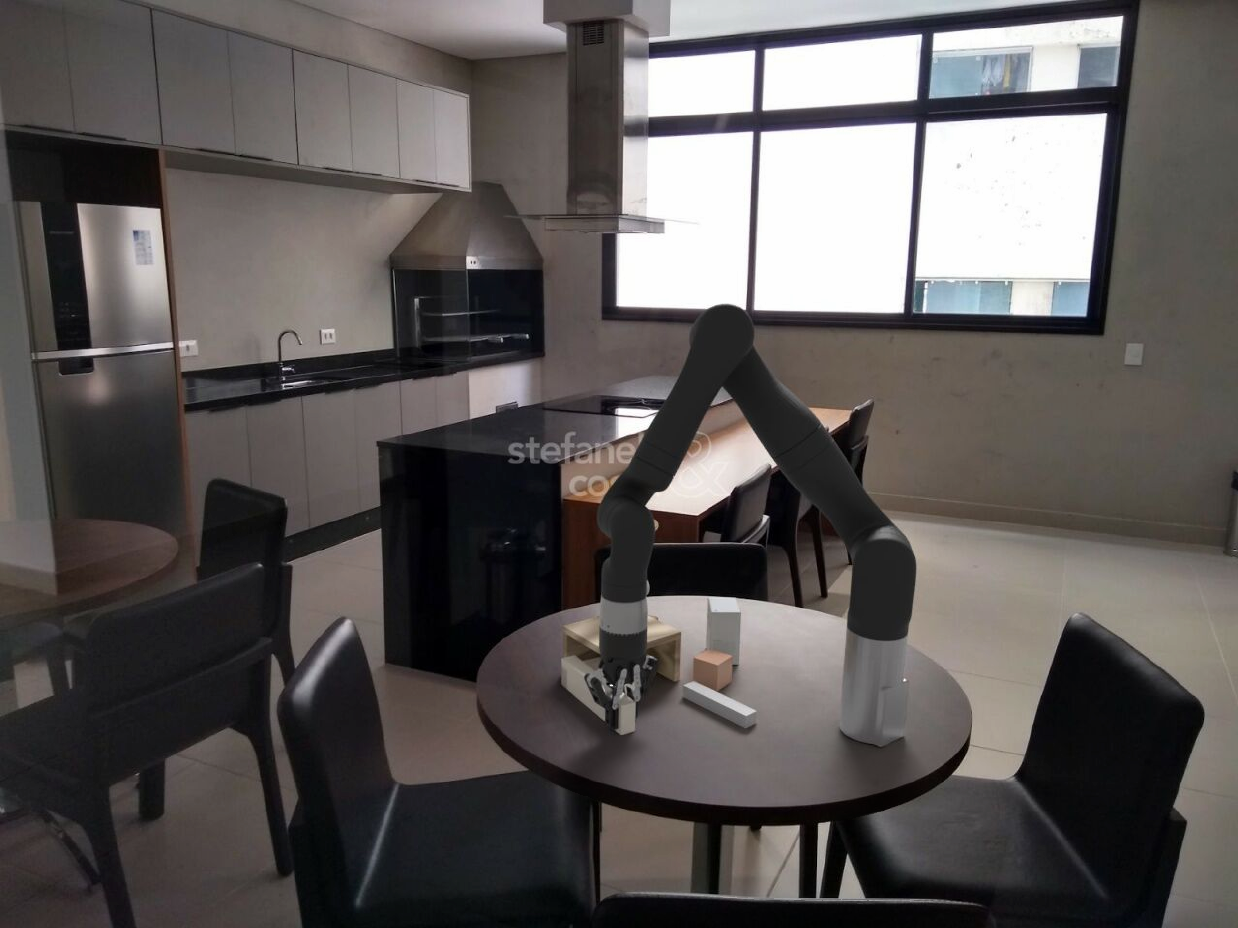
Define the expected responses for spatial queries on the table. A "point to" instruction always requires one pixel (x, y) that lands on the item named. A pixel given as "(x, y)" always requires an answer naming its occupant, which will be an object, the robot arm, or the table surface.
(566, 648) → the cubby
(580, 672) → the white bar
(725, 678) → the terracotta block
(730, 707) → the grey stick
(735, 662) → the small box
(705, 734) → the table surface
